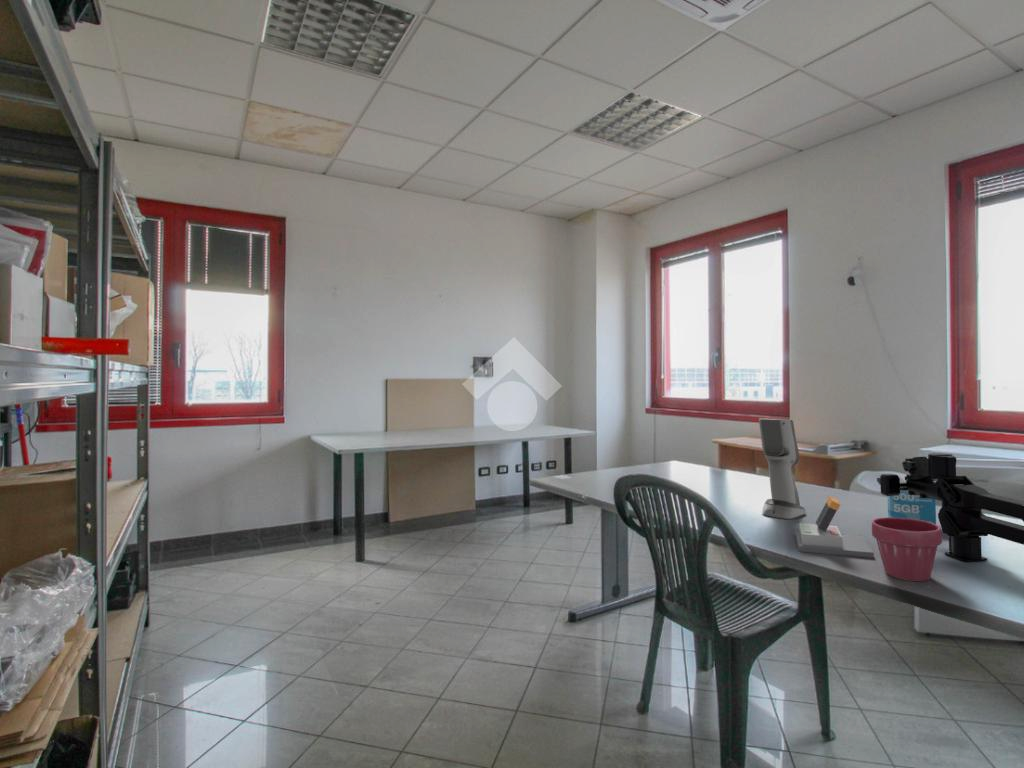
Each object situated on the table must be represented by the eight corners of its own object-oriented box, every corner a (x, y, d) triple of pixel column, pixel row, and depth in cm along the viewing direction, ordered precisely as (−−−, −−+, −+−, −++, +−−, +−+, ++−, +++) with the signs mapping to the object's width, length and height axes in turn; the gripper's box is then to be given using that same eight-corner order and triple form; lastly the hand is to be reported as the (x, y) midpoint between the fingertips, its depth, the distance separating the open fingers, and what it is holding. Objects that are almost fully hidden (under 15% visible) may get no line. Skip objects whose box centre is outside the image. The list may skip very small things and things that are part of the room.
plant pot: (866, 562, 143) (865, 514, 143) (930, 567, 138) (929, 518, 138) (881, 582, 130) (879, 529, 130) (952, 588, 125) (951, 533, 125)
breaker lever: (823, 525, 161) (837, 499, 160) (825, 532, 155) (840, 504, 153) (815, 521, 162) (829, 495, 160) (817, 528, 156) (832, 500, 154)
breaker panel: (863, 541, 161) (863, 525, 161) (873, 558, 146) (873, 541, 146) (795, 535, 168) (795, 520, 168) (799, 551, 154) (798, 535, 154)
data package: (890, 525, 175) (889, 489, 175) (888, 522, 179) (887, 486, 179) (936, 529, 170) (935, 491, 170) (932, 525, 174) (931, 488, 174)
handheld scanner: (756, 514, 195) (754, 418, 194) (775, 508, 202) (772, 415, 202) (789, 520, 185) (786, 419, 185) (807, 514, 193) (804, 416, 192)
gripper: (963, 459, 154) (918, 452, 170) (901, 461, 153) (862, 454, 169) (964, 497, 155) (919, 487, 170) (902, 500, 153) (863, 489, 169)
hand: (891, 478), depth 169 cm, fingers open, 9 cm apart
